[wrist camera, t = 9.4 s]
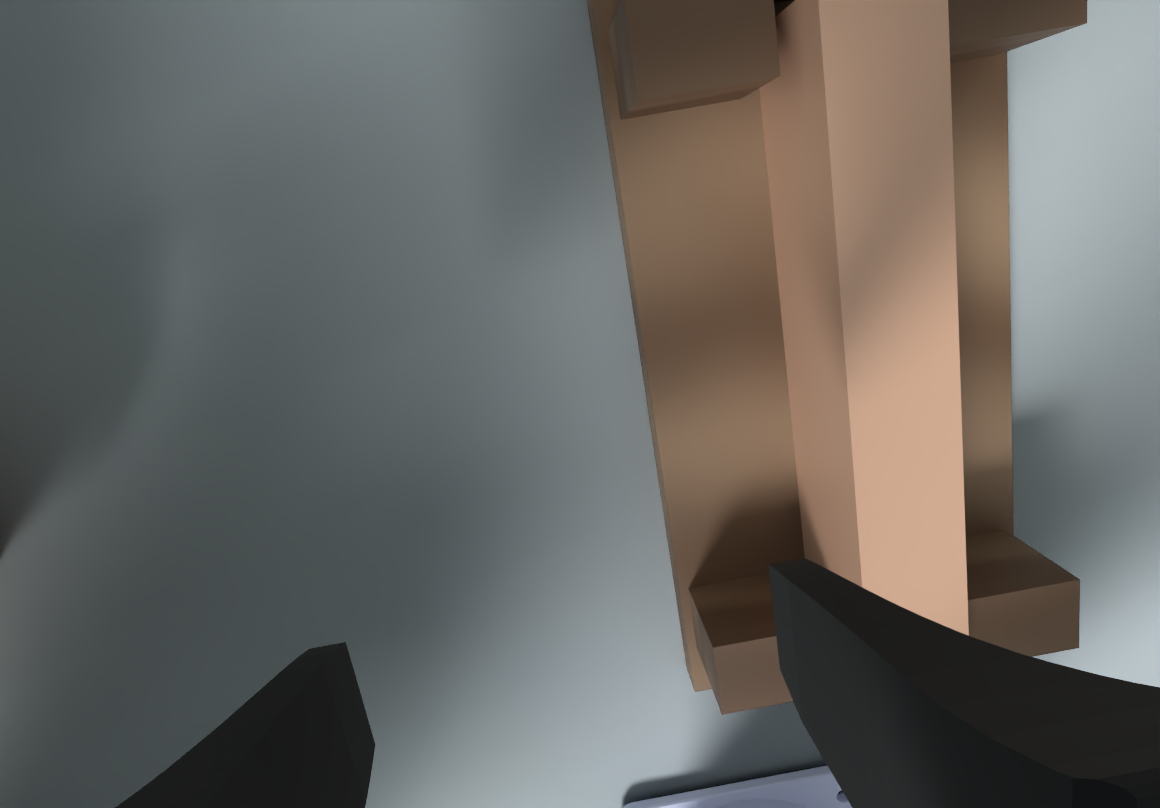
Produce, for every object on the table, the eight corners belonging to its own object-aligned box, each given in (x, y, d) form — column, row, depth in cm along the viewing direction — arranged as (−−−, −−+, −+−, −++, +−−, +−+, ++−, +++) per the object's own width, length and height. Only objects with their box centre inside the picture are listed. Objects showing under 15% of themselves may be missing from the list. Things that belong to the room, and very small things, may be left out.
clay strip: (892, 599, 22) (970, 683, 18) (810, 614, 21) (871, 702, 18) (855, 17, 17) (946, -41, 14) (754, 34, 17) (817, -19, 14)
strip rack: (990, 611, 23) (1087, 694, 19) (686, 668, 23) (719, 764, 19) (974, -86, 18) (1101, -175, 14) (584, -20, 18) (598, -90, 14)
